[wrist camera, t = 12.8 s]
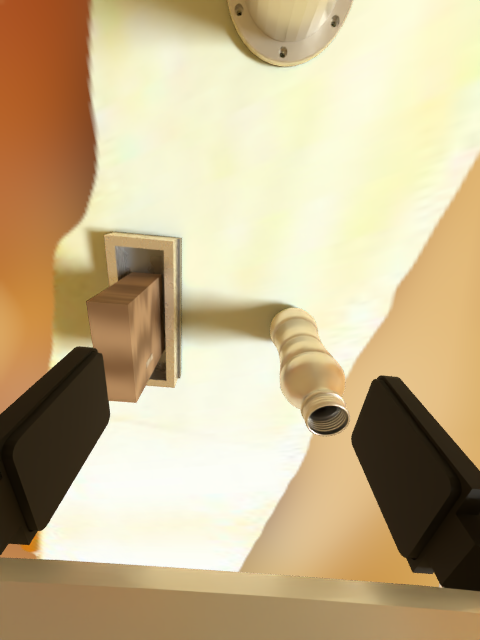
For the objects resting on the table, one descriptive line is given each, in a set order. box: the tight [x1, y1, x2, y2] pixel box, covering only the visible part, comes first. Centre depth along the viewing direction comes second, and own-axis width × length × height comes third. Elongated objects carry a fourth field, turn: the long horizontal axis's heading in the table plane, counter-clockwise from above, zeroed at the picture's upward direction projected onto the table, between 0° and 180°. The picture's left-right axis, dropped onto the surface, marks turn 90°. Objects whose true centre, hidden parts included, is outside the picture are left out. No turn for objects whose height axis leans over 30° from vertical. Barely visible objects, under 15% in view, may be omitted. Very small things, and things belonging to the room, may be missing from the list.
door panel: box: [86, 272, 164, 403], centre depth 34 cm, size 12×4×12 cm, turn 175°
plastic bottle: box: [270, 308, 350, 436], centre depth 32 cm, size 6×7×20 cm
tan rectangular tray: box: [104, 232, 182, 388], centre depth 39 cm, size 22×9×4 cm, turn 175°
